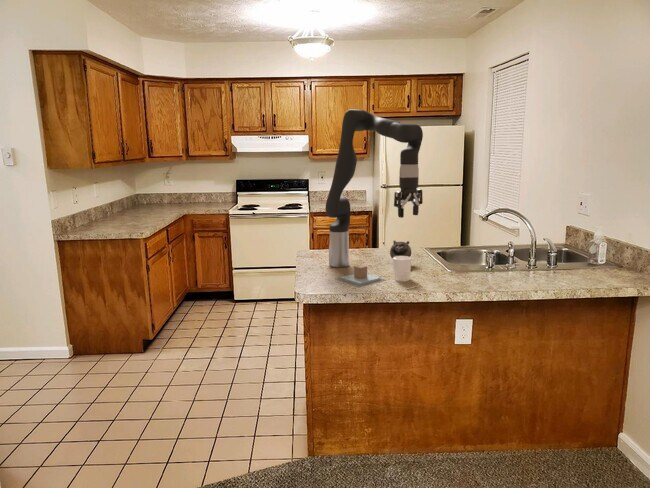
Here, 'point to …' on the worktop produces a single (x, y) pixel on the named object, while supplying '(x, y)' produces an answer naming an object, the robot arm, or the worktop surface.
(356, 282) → the lid
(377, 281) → the mat
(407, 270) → the white cup
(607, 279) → the worktop surface
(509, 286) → the worktop surface
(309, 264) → the worktop surface
